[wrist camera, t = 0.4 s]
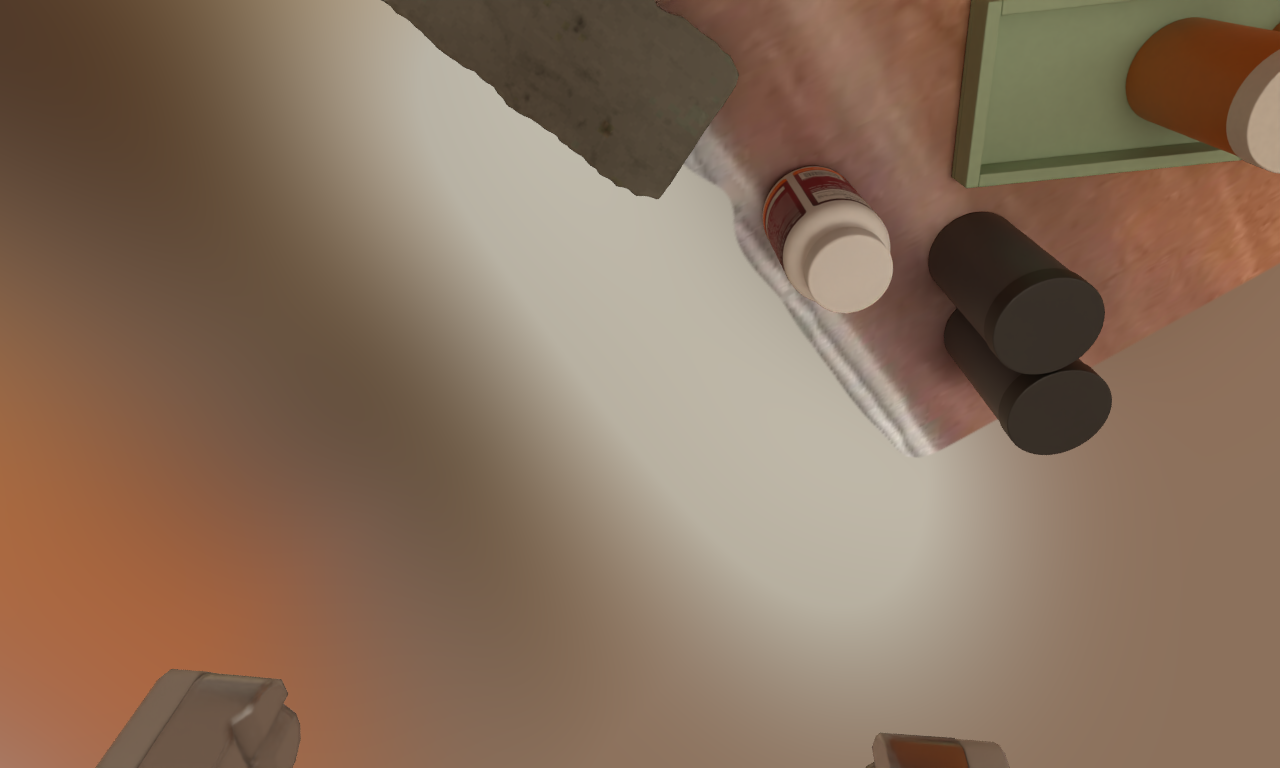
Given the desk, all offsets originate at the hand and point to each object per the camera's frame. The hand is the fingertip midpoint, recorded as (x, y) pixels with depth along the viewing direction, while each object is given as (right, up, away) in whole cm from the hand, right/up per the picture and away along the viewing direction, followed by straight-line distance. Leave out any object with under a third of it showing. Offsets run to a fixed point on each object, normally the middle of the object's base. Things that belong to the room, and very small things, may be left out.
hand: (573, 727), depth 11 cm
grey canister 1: (+24, +14, +43) cm, 51 cm away
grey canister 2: (+26, +9, +46) cm, 54 cm away
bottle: (+34, +24, +36) cm, 55 cm away
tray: (+34, +24, +37) cm, 55 cm away
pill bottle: (+12, +16, +41) cm, 46 cm away
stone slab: (-1, +29, +32) cm, 43 cm away
